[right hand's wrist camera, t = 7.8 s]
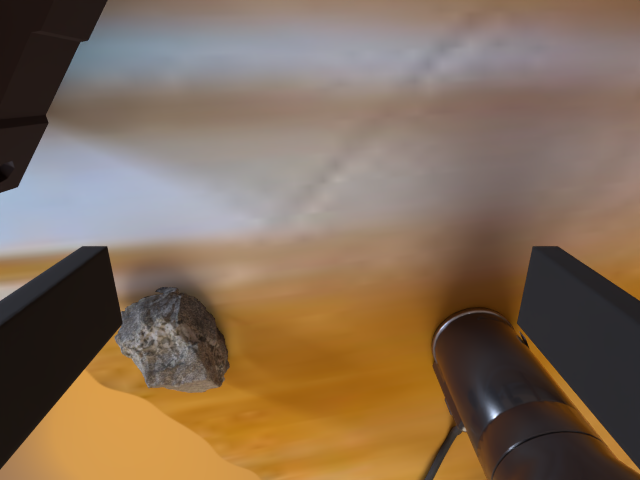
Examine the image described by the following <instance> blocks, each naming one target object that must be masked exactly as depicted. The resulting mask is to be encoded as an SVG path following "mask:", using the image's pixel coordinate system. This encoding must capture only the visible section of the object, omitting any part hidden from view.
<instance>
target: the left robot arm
mask: <svg viewBox="0 0 640 480" xmlns="http://www.w3.org/2000/svg"><path fill="white" fill-rule="evenodd" d="M520 334H521V332H520ZM521 337H522V339H523V341H522V339H521V338H520V337H519V336H518V334H517V333H516V332H515V331H514V329H513V327H512V325H511V324H510V323H509V322H508V320H507V319H506V318H505V317H504V316H502V315H501V314H500V313H498V312H496V311H494V310H491V309H487V308H469V309H465V310H462V311H459V312H457V313H455V314H453V315H451V316H450V317H448V318H447V319H446V320H444V321H443V322H442V323H441V324H440V326H439V327H438V328H437V330H436V332H435V334H434V336H433V339H432V353H433V356H434V359H435V361H434V364H433V369H434V371H435V374H436V376H437V379H438V381H439V384H440V386H441V388H442V391H443V393H444V396H445V402H446V404H447V407H448V409H449V412H450V414H451V415H452V416H453V418H454V421H455V423H456V426H455V427H453V428H452V430H451V431H450V433H449V434H448V436H447V438H446V440H445V442H444V443H443V445H442V447H441V449H440V450H439V452H438V454H437V456H436V458H435V460H434V462H433V464H432V466H431V468H430V470H429V472H428V474H427V476H426V478H425V479H424V480H433V478H434V477H435V475H436V473H437V471H438V469H439V467H440V465H441V463H442V461H443V459H444V457H445V455H446V453H447V452H448V450H449V448H450V446H451V444H452V443H453V441H454V439H455V438H456V436H457V435H459V434H461V432H462V431H463V432H467V434H468V436H469V438H470V441H471V443H472V445H473V448H474V450H475V452H476V455H477V457H478V459H479V462H480V464H481V466H482V468H483V471H484V473H485V475H486V478H487V480H640V474H639V473H637V472H636V471H635V470H633V469H632V468H630V467H628V466H627V465H625V464H624V463H622V462H621V461H620V460H618V458H617V457H616V456H615V455H614V454H613V453H612V451H611V450H610V449H609V448H608V446H607V445H606V444H605V442H604V441H603V440H602V439H601V438H600V436H599V435H598V434H597V433H596V431H595V430H594V429H593V428H592V426H591V425H590V424H589V423H588V421H587V420H586V419H585V418H584V416H583V415H582V414H581V413H580V412H579V410H578V409H577V408H576V407H575V405H574V404H573V403H572V402H571V400H570V399H569V398H568V397H567V395H566V394H565V393H564V392H563V390H562V389H561V388H560V387H559V385H558V384H557V383H556V382H555V380H554V379H553V378H552V377H551V375H550V374H549V373H548V372H547V370H546V369H545V368H544V367H543V365H542V364H541V363H540V362H539V360H538V359H537V358H536V357H535V356H534V354H533V353H532V352H531V351H530V349H529V346H528V344H527V341H526V338H525V337H524V336H523V335H522V334H521Z"/></svg>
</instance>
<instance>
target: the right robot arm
mask: <svg viewBox="0 0 640 480" xmlns="http://www.w3.org/2000/svg"><path fill="white" fill-rule="evenodd" d="M122 324H123V321H122V316H121V312H120V307H119V302H118V297H117V292H116V287H115V282H114V277H113V272H112V267H111V263H110V258H109V253H108V248H107V246H82V247H81V248H79V249H78V250H76V251H75V252H73V253H72V254H70V255H69V256H67V257H66V258H64V259H63V260H61V261H60V262H58V263H57V264H55V265H54V266H52V267H51V268H49V269H48V270H46V271H45V272H43V273H42V274H40V275H39V276H37V277H36V278H34V279H33V280H31V281H30V282H28V283H27V284H25V285H24V286H22V287H21V288H19V289H18V290H16V291H15V292H13V293H12V294H10V295H9V296H7V297H5V298H4V299H2V300H1V301H0V469H1V468H2V467H3V466H4V464H5V463H6V462H7V461H8V460H9V458H10V457H11V456H12V455H13V454H14V452H15V451H16V450H17V449H18V448H19V447H20V445H21V444H22V443H23V442H24V441H25V439H26V438H27V437H28V436H29V435H30V433H31V432H32V431H33V430H34V429H35V427H36V426H37V425H38V424H39V423H40V422H41V420H42V419H43V418H44V417H45V416H46V414H47V413H48V412H49V411H50V410H51V408H52V407H53V406H54V405H55V404H56V402H57V401H58V400H59V399H60V398H61V397H62V395H63V394H64V393H65V392H66V391H67V389H68V388H69V387H70V386H71V385H72V383H73V382H74V381H75V380H76V379H77V377H78V376H79V375H80V374H81V373H82V371H83V370H84V369H85V368H86V367H87V366H88V364H89V363H90V362H91V361H92V360H93V358H94V357H95V356H96V355H97V354H98V352H99V351H100V350H101V349H102V348H103V346H104V345H105V344H106V343H107V342H108V340H109V339H110V338H111V337H112V336H113V335H114V333H115V332H116V331H117V330H118V329H119V327H120V326H121V325H122ZM517 324H518V325H519V326H520V327H521V329H522V330H523V331H524V332H525V333H526V335H527V336H528V337H529V338H530V339H531V340H532V342H533V343H534V344H535V345H536V346H537V348H538V349H539V350H540V351H541V352H542V354H543V355H544V356H545V357H546V358H547V360H548V361H549V362H550V363H551V364H552V366H553V367H554V368H555V369H556V370H557V371H558V373H559V374H560V375H561V376H562V377H563V379H564V380H565V381H566V382H567V383H568V385H569V386H570V387H571V388H572V389H573V391H574V392H575V393H576V394H577V395H578V397H579V398H580V399H581V400H582V401H583V402H584V404H585V405H586V406H587V407H588V408H589V410H590V411H591V412H592V413H593V414H594V416H595V417H596V418H597V419H598V420H599V422H600V423H601V424H602V425H603V426H604V427H605V429H606V430H607V431H608V432H609V433H610V435H611V436H612V437H613V438H614V439H615V441H616V442H617V443H618V444H619V445H620V447H621V448H622V449H623V450H624V451H625V453H626V454H627V455H628V456H629V457H630V458H631V460H632V461H633V462H634V463H635V464H636V466H637V467H638V468H639V469H640V301H639V300H638V299H636V298H635V297H633V296H631V295H630V294H628V293H627V292H625V291H624V290H622V289H621V288H619V287H618V286H616V285H615V284H613V283H612V282H610V281H609V280H607V279H606V278H604V277H603V276H601V275H600V274H598V273H597V272H595V271H594V270H592V269H591V268H589V267H588V266H586V265H585V264H583V263H582V262H580V261H579V260H577V259H576V258H574V257H573V256H571V255H570V254H568V253H567V252H565V251H564V250H562V249H561V248H559V247H558V246H533V248H532V253H531V258H530V263H529V267H528V272H527V277H526V282H525V287H524V292H523V297H522V302H521V307H520V312H519V316H518V321H517Z"/></svg>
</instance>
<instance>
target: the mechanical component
mask: <svg viewBox="0 0 640 480" xmlns="http://www.w3.org/2000/svg"><path fill="white" fill-rule="evenodd" d="M106 2H107V0H0V193H1V192H4V191H7V190H10V189H13V188H16V187H18V185H19V183H20V181H21V179H22V177H23V175H24V173H25V171H26V169H27V167H28V165H29V163H30V160H31V158H32V156H33V154H34V152H35V150H36V148H37V146H38V144H39V142H40V140H41V138H42V135H43V133H44V131H45V129H46V127H47V125H48V120H47V117H46V113H47V111H48V109H49V107H50V105H51V103H52V101H53V98H54V96H55V94H56V92H57V90H58V88H59V86H60V84H61V82H62V79H63V77H64V75H65V73H66V71H67V69H68V67H69V65H70V63H71V60H72V58H73V56H74V54H75V52H76V50H77V48H78V46H79V44H80V42H83V41H88V40H89V38H90V36H91V33H92V31H93V29H94V27H95V25H96V23H97V21H98V19H99V17H100V15H101V13H102V11H103V8H104V6H105V4H106Z"/></svg>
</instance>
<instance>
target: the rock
mask: <svg viewBox="0 0 640 480" xmlns="http://www.w3.org/2000/svg"><path fill="white" fill-rule="evenodd" d="M155 292H161V293H164V294H163V295H160V294H159V295H154V296H150V297H149V296H148V297H145V298H143V299H141V300H139V302H138V303H137V302H136V303H133V304H132V305H130V306H128V307H127V308H125V311H121V314H122V321H123V324H122V325H121V328H120V330H119V331H118V334H117V335H116V336H115V340H116V343H117V344H118V345H119V346H120V348H121V352H122V354H123V355H125V356H127V357H128V358H132V360H133V361H134V363H135V365H137V367H138V368H139V369H140V371H141V372H142V374H143V376H144V378H145V382H146V384H147V386H148V388H150V387H153V388H159V387H165V388H167V389H173V390H177V391H182V392H188V393H193V392H205V391H206V390H207V389H211V388H217V387H220V386H221V385H222V382H223V381H224V380H225V378H224V373H226V371H227V369H228V368H229V362H228V360H227V357H228V355H227V354H228V351H227V349H226V346H225V339H224V336H223V335H222V334H221V333H220V331H219V330H218V328H217V327H216V323H215V318H214V317H213V316H212V315H211V314H210V313H209V312H207V311H206V310H205V309H206V308H205V307H204V306H203V305H202V303H201V302H200V301H198V299H196V298H195V297H191V296H187V295H186V294H185V293H179V292H178V289H177V288H173V287H172V288H171V287H169V288H168V287H162V288H160V289H158V290H157V291H155Z"/></svg>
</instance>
